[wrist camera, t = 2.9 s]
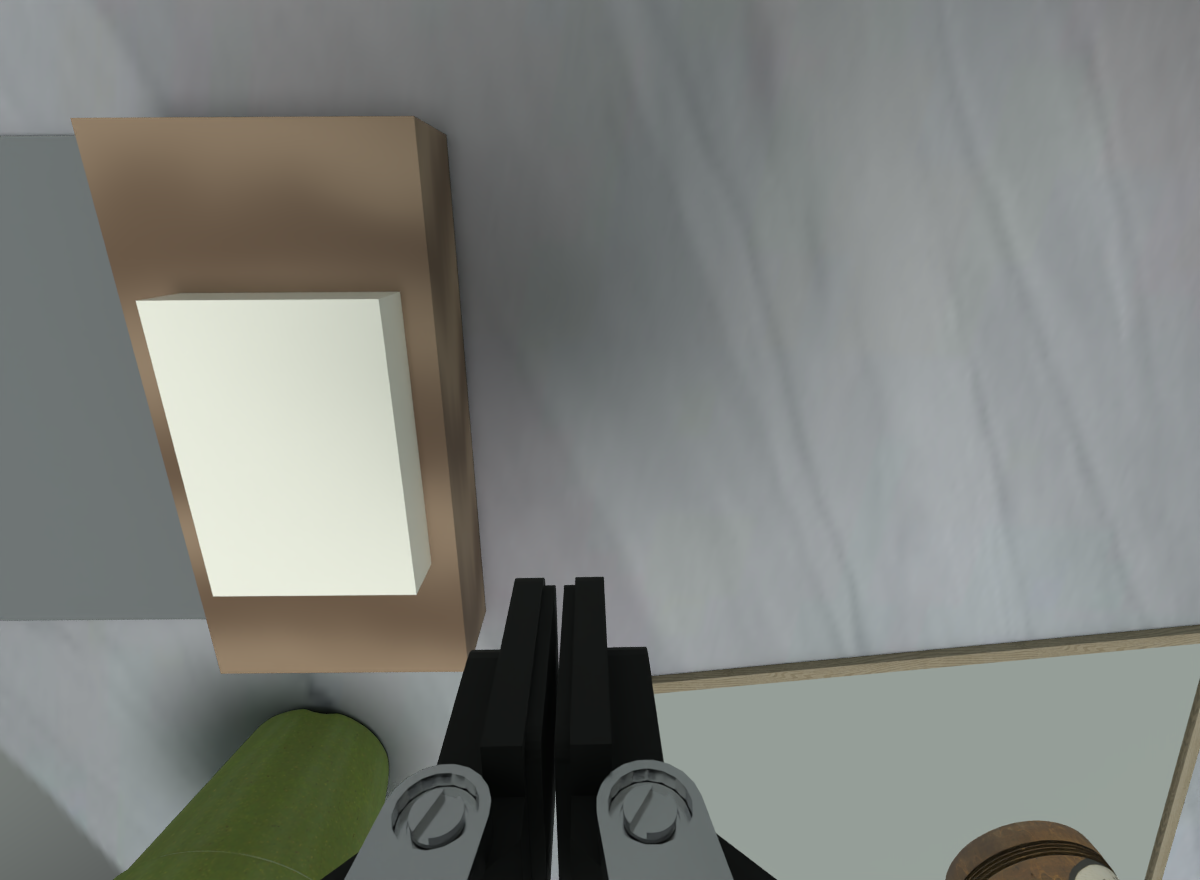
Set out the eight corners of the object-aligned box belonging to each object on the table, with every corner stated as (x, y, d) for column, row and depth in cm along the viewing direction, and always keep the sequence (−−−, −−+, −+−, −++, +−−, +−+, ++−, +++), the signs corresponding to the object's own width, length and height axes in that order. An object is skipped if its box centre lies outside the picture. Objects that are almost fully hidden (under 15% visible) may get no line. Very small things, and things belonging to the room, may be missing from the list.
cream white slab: (180, 293, 19) (135, 300, 17) (399, 291, 19) (378, 299, 17) (245, 565, 23) (213, 596, 21) (431, 563, 23) (416, 594, 21)
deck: (163, 136, 21) (70, 118, 18) (446, 135, 21) (413, 116, 18) (271, 613, 28) (220, 673, 24) (485, 611, 28) (468, 671, 24)
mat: (-220, 138, 21) (-235, 137, 21) (121, 137, 21) (112, 135, 21) (-19, 615, 28) (-28, 620, 28) (239, 613, 28) (234, 618, 28)
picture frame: (1213, 616, 29) (635, 670, 30) (1233, 629, 28) (636, 685, 29) (1138, 889, 35) (664, 927, 36) (1153, 908, 34) (665, 946, 35)
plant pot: (379, 869, 34) (281, 1162, 23) (174, 786, 32) (-38, 1068, 21) (479, 730, 31) (417, 999, 20) (257, 627, 28) (55, 868, 18)
